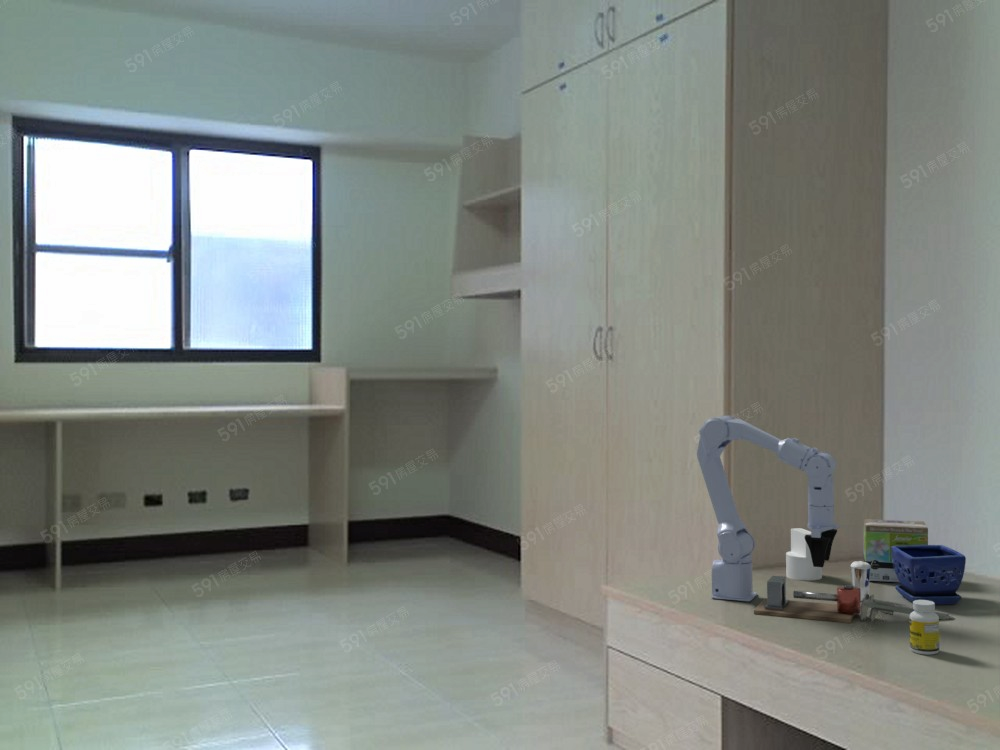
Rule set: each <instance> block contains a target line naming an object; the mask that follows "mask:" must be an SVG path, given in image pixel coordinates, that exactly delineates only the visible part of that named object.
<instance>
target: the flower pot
mask: <svg viewBox="0 0 1000 750" xmlns="http://www.w3.org/2000/svg"><path fill="white" fill-rule="evenodd" d="M891 556H892V562H893V567H894V570H895V573H896V576H897V578H898V580H899V582H898V583H899V584H900V585H899V584H898V585H895V587H894V588H895V590H896V591H897V592H898V593H899V594H900V595H901V596H902V597H903V598H905V599H906V600H907V601H909V602H911V603H913V601H915V600H928V601H932V602H934V603H935V606H936V605H955V604H957V603H959V602H960V601H961V600H962V596H961V595H960V594H958V593H957V591H958V589H959V588H960V586H961V584H962V581H963V578H964V574H965V569H966V561H967V559H966V555H964V554H963V553H961V552H959V551H957V550H956V549H953V548H950V547H949V546H945V545H943V544H928V545H907V546H892V547H891Z"/></svg>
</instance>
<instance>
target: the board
mask: <svg viewBox="0 0 1000 750" xmlns="http://www.w3.org/2000/svg"><path fill="white" fill-rule="evenodd" d="M788 600H789V599H788ZM766 604H767V598H766V597H765V598H764V599H763V600H762V601H761V602H760V603H759V604H758V605H757V606H756V607H755V609H754V610H753V614H754V615H761V616H771V617H784V618H792V619H793V618H794V619H795V618H796V619H802V620H803V619H804V620H805V619H806V620H817V621H826V622H827V621H828V622H835V623H837V622H839V623H845V624H846V623H847V624H851V622H852V621H853V619H854V618H855V616H856V614H847V613H841V612H839V611H837V603H834V604H832V603H823V602H812V601H802V600H801V601H798V600H789V603H788V604H787V606H786V607H785V608H784V609H783V611H780V610H769V609H765V605H766Z"/></svg>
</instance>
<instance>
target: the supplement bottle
mask: <svg viewBox="0 0 1000 750" xmlns="http://www.w3.org/2000/svg"><path fill="white" fill-rule="evenodd" d="M912 607H913V609H914V611H913V612H912V613H911V614H909V648H910V651H911V652H913V653H915V654H919V655H924V656H925V655H926V656H928V655H929V656H931V655H932V656H933V655H937V654H939V652H940V619H939V617H938V615H937V614H936V613H934V611H936V605H935V603H934V602H932V601H928V600H915V601H913V602H912Z"/></svg>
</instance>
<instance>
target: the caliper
mask: <svg viewBox="0 0 1000 750" xmlns="http://www.w3.org/2000/svg"><path fill="white" fill-rule="evenodd" d="M869 608H870V613H869V618H868V621H869V622H874V620H875V618H876V616H877V615H878V613H879V612H881V613H883V614H884V615H890V616H893V615H894V613H900V614H904V615H905V614H907V615H910V614H911V613H912V612H913V611H914V609H913V606H906V605H899V604H896V602H893V601H887V600H882V599H876V598H875V595H874V594H873V593H872V594H871V595H870V593H869V594H866V598H863V600H862V601H861V612H860V620H861V621H863V622H865V621H866V618H867V617H866V616H867V613H868V610H869ZM934 613H936V614H937V615H938V617H939V620H949V619H951V620H954V619H955V617H954V616H952V615H950V613H948V612H943V611H938V610H937V611H936V610H934Z"/></svg>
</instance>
